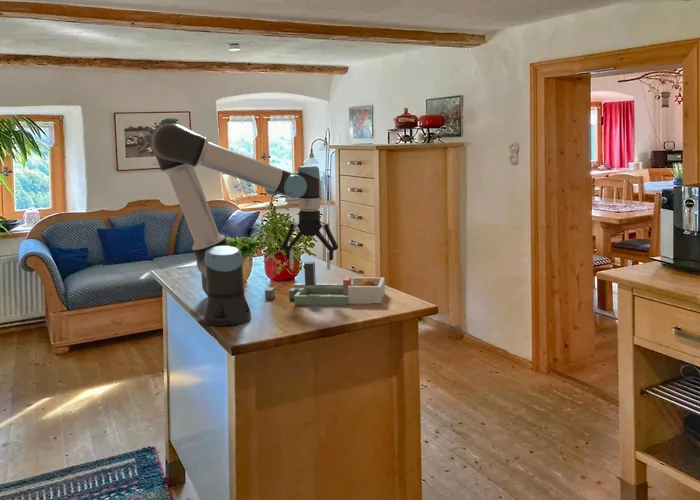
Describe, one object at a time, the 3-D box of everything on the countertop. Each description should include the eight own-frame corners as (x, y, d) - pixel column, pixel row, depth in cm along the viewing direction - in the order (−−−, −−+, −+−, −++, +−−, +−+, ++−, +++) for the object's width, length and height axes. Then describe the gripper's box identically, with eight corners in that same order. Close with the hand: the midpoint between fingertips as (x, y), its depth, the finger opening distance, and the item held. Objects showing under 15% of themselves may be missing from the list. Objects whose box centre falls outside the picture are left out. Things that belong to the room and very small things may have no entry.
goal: (348, 303, 223) (347, 286, 221) (353, 293, 237) (353, 277, 235) (381, 303, 221) (380, 287, 220) (384, 293, 235) (384, 277, 234)
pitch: (260, 304, 225) (259, 295, 224) (273, 291, 243) (273, 282, 242) (347, 305, 221) (347, 296, 220) (354, 291, 238) (354, 283, 238)
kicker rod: (292, 298, 230) (291, 264, 227) (296, 294, 235) (295, 261, 233) (349, 298, 227) (348, 264, 224) (351, 294, 232) (350, 261, 230)
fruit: (377, 298, 223) (365, 278, 223) (359, 308, 225) (347, 289, 225) (383, 292, 230) (371, 273, 230) (365, 302, 233) (354, 283, 233)
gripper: (272, 210, 224) (273, 269, 227) (342, 211, 220) (342, 271, 224) (277, 208, 231) (279, 265, 235) (345, 209, 228) (346, 267, 231)
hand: (310, 268), depth 229 cm, fingers open, 13 cm apart
